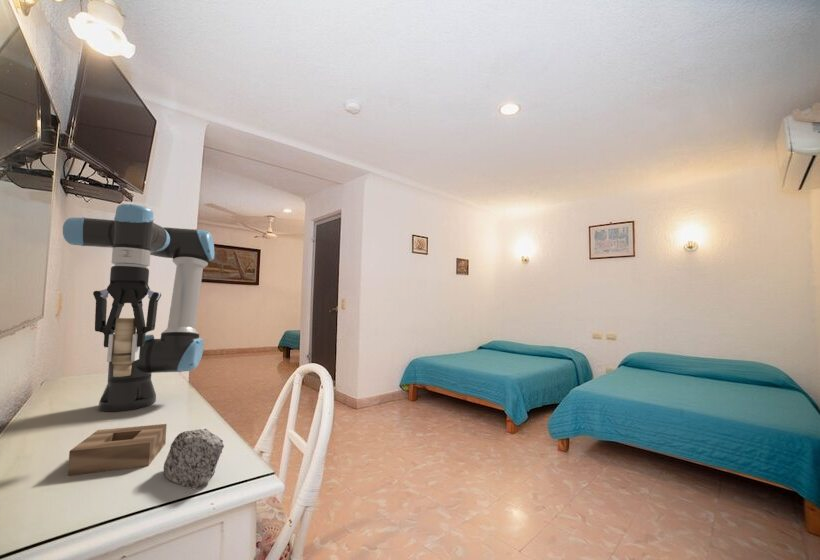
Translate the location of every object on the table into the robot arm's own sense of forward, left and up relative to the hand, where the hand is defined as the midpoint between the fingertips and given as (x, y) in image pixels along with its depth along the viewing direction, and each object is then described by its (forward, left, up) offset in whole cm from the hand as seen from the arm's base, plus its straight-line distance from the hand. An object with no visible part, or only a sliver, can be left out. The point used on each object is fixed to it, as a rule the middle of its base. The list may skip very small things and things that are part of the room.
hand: (123, 360), depth 85 cm
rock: (+20, +20, -22) cm, 35 cm away
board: (+6, +3, -22) cm, 22 cm away
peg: (0, 0, -4) cm, 4 cm away
